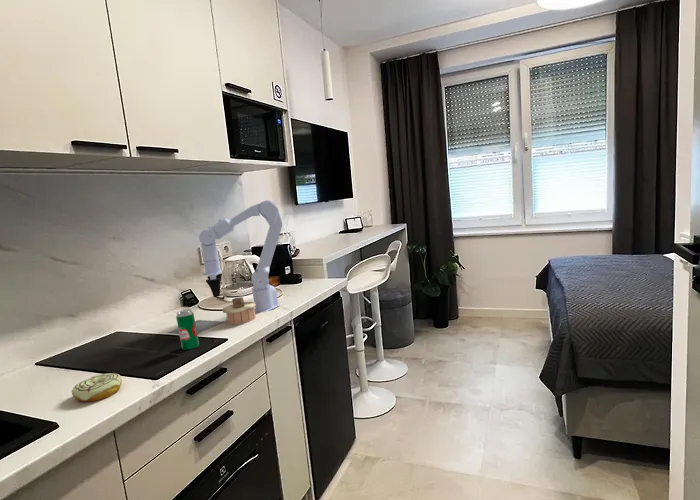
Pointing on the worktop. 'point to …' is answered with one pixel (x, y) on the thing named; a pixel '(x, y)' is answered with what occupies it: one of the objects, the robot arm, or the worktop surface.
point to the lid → (238, 306)
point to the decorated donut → (97, 387)
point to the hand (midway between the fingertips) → (217, 294)
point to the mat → (201, 325)
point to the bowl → (241, 316)
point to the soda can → (187, 329)
